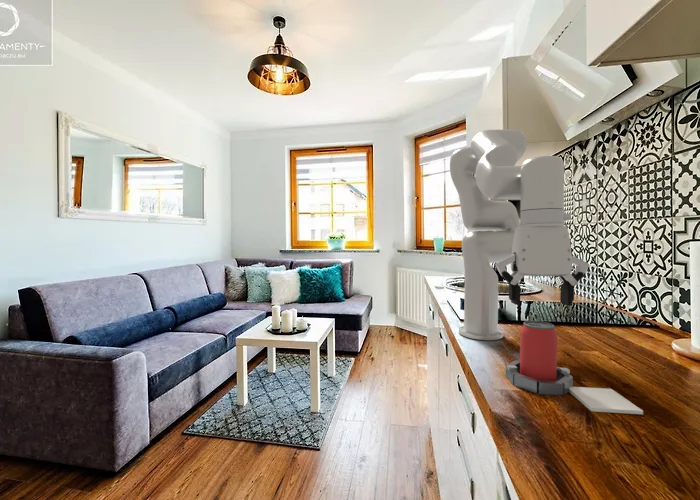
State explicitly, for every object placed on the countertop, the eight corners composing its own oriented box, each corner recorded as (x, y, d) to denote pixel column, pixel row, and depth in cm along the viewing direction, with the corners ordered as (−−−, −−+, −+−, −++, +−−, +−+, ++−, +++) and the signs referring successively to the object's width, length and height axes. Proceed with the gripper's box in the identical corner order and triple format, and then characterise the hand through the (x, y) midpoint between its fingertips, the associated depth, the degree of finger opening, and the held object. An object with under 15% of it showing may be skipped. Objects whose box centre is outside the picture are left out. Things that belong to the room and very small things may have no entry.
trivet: (566, 389, 63) (566, 386, 63) (611, 391, 62) (611, 388, 62) (591, 411, 55) (591, 407, 55) (643, 414, 54) (643, 410, 54)
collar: (499, 369, 73) (499, 356, 73) (554, 371, 71) (554, 358, 71) (518, 392, 62) (518, 377, 62) (584, 396, 60) (584, 381, 60)
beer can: (523, 372, 71) (524, 318, 71) (558, 380, 67) (559, 323, 67) (516, 382, 66) (517, 324, 66) (554, 392, 62) (555, 330, 61)
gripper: (577, 220, 68) (576, 301, 68) (490, 221, 70) (490, 300, 70) (599, 217, 60) (598, 308, 61) (502, 218, 63) (501, 306, 63)
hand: (540, 304), depth 65 cm, fingers open, 9 cm apart
